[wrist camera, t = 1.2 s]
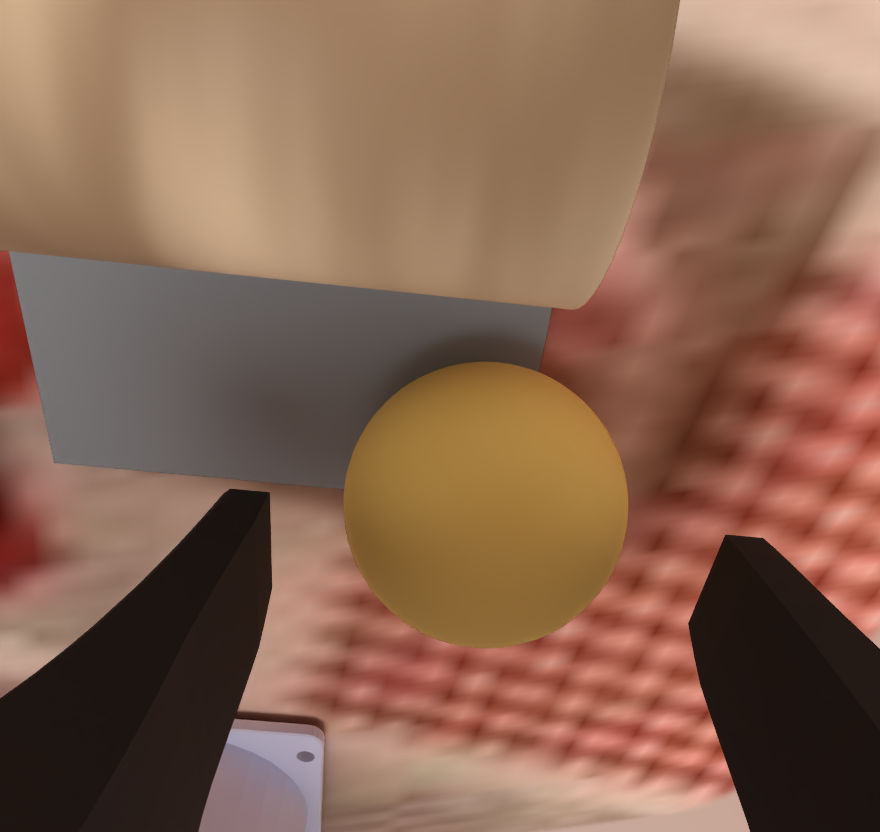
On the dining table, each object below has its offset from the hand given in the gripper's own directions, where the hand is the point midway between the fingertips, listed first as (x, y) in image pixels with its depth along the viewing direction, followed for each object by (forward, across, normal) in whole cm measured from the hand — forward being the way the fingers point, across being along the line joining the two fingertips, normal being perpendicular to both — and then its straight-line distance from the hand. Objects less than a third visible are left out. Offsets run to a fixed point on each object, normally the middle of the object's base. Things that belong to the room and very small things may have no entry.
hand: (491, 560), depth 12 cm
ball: (+4, 0, 0) cm, 4 cm away
